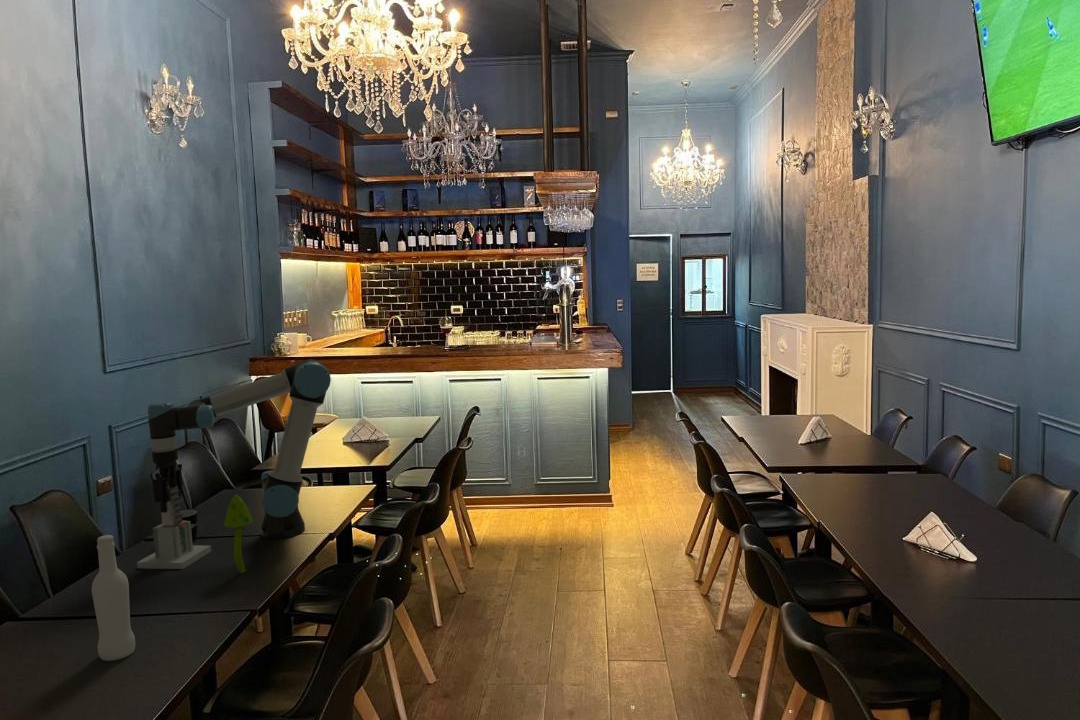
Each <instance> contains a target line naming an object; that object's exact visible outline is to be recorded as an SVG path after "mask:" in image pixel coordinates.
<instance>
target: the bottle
mask: <svg viewBox="0 0 1080 720" xmlns="http://www.w3.org/2000/svg"><path fill="white" fill-rule="evenodd" d="M96 543H97V545H96V549H97V554H98V566H99V571H98V573H97V574H96V575H95V577H94V579H93V581H92V584H91V595H92V600H93V601H92V602H93V606H94V607H93V608H94V612H95V617H96V622H97V628H98V634H99V636H98V637H99V638H98V641H97V653H98V656H99V658H100V659H101V660H103V661H107V662H112V661H118V660H122V659H125V658H127V657H128V656H130V655H131V654H133V653H134V651H135V648H136V638H135V633H134V632H133V631H132V630H133V629H132V628H131V610H130V609H131V608H130V584H129V580H128V577H127V575H126V573H124V572H123V571H122V570H121V569H119V568H118V565H117V559H116V551H115V545H116V544H115V542H114V536H113V534H112V535H111V534H104V535H101V536H98V538H97V539H96Z"/></svg>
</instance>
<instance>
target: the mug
mask: <svg viewBox="0 0 1080 720" xmlns="http://www.w3.org/2000/svg"><path fill="white" fill-rule="evenodd" d="M180 513H182V517H181V519H183V521H190V523H191V533H192V543H193V542H195V541H196V539H197V537H198V536H197V535H198V513H197V510H194V509H186V510H182V511H180Z"/></svg>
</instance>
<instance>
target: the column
mask: <svg viewBox="0 0 1080 720" xmlns="http://www.w3.org/2000/svg"><path fill="white" fill-rule="evenodd" d="M179 493H180V490H178V486H169V485H168V501H167V502H170V512H171V522H162V521H161V524H162V525H163V527H174V528H176V527H179V524H180V523H182V522H183V519H181V517H182V513H180V511H183V509H182V507H180V506H181V505H182V501H180V499H181V497H182V496H181V497H180V496H178V494H179ZM160 514H161V516H162V513H161V512H160ZM182 528H183V527H182ZM182 528H179V532H180V542H181V552H182V551H184V546H185V543H183V540H185V538H184V537H183V536H182V535H183V534H184V531H182Z"/></svg>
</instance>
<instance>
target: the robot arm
mask: <svg viewBox="0 0 1080 720" xmlns="http://www.w3.org/2000/svg"><path fill="white" fill-rule="evenodd" d="M331 381H332V380H331V374H330V371H329V369H328V368H327V367H326V366H325V365H324V363H322V362H321V361H320V360H317V359H313V358H308V359H304V360H301V361H300V362H298V363H296V364H294V365H293V364H292V365H291V366H288V367H285V368H283V370H282V371H281V372H279V373H276V374H273V375H270V376H267V377H264V378H261V379H258V380H255V381H253V382H252V381H251V382H249V383H246V384H243V385H240V386H237V387H234V388H231V389H228V390H225V391H222V392H219V393H217V394H213V395H209V396H207V397H204V398H201V399H200V398H199V399H194V400H192V401H191V402H189V404H188V405H187V406H182V407H174V406H173V405H174V404H173V403H172V402H171V401H165V402H164V401H160V402H159V401H158V402H155V403H151V404H149V406H147V420H148V431H149V436H150V445H151V446H150V448H151V451H152V452H151V459H152V463H153V464H155V466H156V467H155V471H154V473H153V472H152V473H150V474H149V476H150V479H151V482H152V490H153V497H154V503H157V504H160V506H159V507H160V514H161V513H162V515H161V523H162V522H171V512H170V502H167V501H168V486H178V490H180V493H179V494H178V496H180V497H182V496H183V492H184V491H183V490H184V489H183V487H184V486H183V477H182V476H183V475H182V471H183V470H182V469H183V464H181V463H180V464H179V463H177V462H176V461H178V460H179V455H178V449H177V447H178V443H177V434H176V431H184V430H195V429H201V430H202V429H206V428H211V427H214V425H215V418H217V417H219V416H223V415H226V414H229V413H231V412H235V411H238V410H240V409H244V408H247V407H250V406H253V405H255V404H258V403H261V402H264V401H267V400H271V399H274V398H276V397H281V396H283V395H285V394H289V395H288V397H289V398H290V400H291V405H290V408H289V409H290V410H289V413H288V417H287V420H286V424H285V427H284V432H283V436H282V440H281V443H280V446H279V450H278V454H277V458H276V463H275V466H274V468H273V469H272V470H266V471H264V472H262V473H261V479H260V481H261V485H262V486H261V487H262V496H261V505H262V508H263V509H264V510H263V511H264V515H263V518H262V523H261V526H260V527H261V528H260V535H261V537H262V538H264V539H273V540H275V539H276V540H277V539H285V538H290V537H294V536H298V535H300V534H302V533H304V532H305V530H306V525H305V521H304V519H303V516H302V514H301V512H300V510H299V503H300V501H299V499H300V491H301V489H302V484H303V480H304V479H303V476H301V470H302V467H303V463H304V459H305V455H306V452H307V449H308V446H309V445H308V444H309V441H310V436H311V433H312V429H313V425H314V423H315V422H314V421H315V418H316V415H317V412H318V411H317V410H318V408H319V407H320V406H322V405H324V401H325V399H326V396H327V395H326V394H327V391H328V389H329V388H330V386H331Z"/></svg>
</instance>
